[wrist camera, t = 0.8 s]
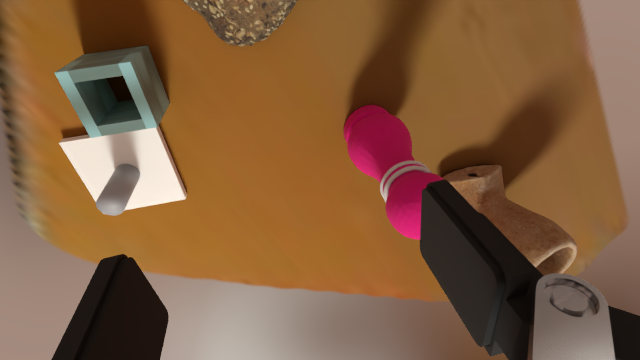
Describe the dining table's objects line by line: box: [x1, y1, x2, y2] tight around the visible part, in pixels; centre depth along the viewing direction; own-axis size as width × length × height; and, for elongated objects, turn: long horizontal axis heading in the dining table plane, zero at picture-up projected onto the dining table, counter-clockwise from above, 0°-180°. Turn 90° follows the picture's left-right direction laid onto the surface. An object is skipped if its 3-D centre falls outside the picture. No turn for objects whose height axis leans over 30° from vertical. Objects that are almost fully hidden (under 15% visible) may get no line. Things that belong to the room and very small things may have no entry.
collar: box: [55, 45, 170, 138], centre depth 32 cm, size 6×6×6 cm
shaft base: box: [59, 125, 187, 215], centre depth 37 cm, size 10×10×7 cm
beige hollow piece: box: [442, 165, 577, 276], centre depth 46 cm, size 15×12×15 cm
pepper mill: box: [344, 105, 443, 239], centre depth 34 cm, size 7×7×20 cm
